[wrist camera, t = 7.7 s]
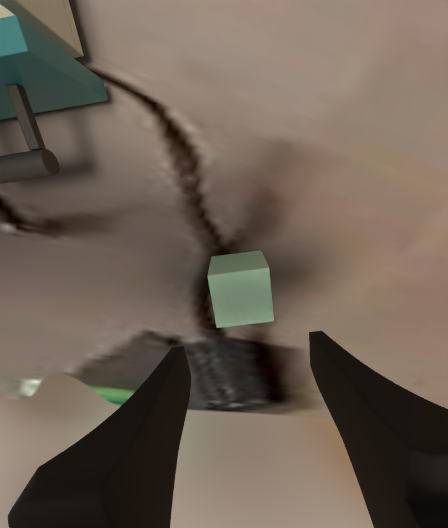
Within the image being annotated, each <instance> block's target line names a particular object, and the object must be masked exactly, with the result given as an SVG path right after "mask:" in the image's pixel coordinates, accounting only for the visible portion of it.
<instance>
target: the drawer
mask: <svg viewBox="0 0 448 528" xmlns="http://www.w3.org/2000/svg"><path fill="white" fill-rule="evenodd" d="M82 56H84V55H83V51H82V48H81V44H80V40H79V37H78V33H77V29H76V26H75V22H74V18H73V15H72V11H71V7H70V4H69V0H0V120H1V119H6V118H12V117H17V118H18V120H19V123H20V126H21V128H22V131H23V134H24V136H25V139H26V142H27V144H28V147H29V149H30V150H33V151H28V152H22V153H16V154H10V155H4V156H0V184H2V183H8V182H14V181H20V180H27V179H33V178H39V177H45V176H51V175H56V174H57V173H58V172H59V164H58V161H57V159H56V157H55V155H54V154H53V153H52V152H51V151H49V150H47V149H46V148H45V145H44V142H43V140H42V137H41V134H40V131H39V128H38V125H37V123H36V120H35V117H34V113H40V112H46V111H51V110H57V109H62V108H68V107H74V106H79V105H85V104H90V103H96V102H102V101H107V100H108V98H107V94H106V90H105V87H104V83H103V80H102V79H100V78H99V77H98V76H97V75H95V74H94V73H93V72H91V71H90V70H89V69H87V68H86V67H85V66H83V65H82V64H81V63H79V62H78V61H77V60H75V59H74V58H77V57H82Z"/></svg>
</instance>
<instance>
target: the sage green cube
mask: <svg viewBox="0 0 448 528" xmlns="http://www.w3.org/2000/svg"><path fill="white" fill-rule="evenodd" d="M207 277H208V282H209V288H210V293H211V299H212V304H213V310H214V315H215V321H216V327H217V328H220V327H229V326H238V325H246V324H255V323H264V322H273V321H274V315H273V304H272V293H271V282H270V271H269V266H268V264H267V262H266V260H265V257H264V255H263V253H262V250H257V251H250V252H242V253H235V254H227V255H220V256H212V257H211V261H210V266H209V271H208V276H207Z"/></svg>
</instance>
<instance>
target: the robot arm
mask: <svg viewBox="0 0 448 528" xmlns="http://www.w3.org/2000/svg"><path fill="white" fill-rule="evenodd" d="M309 340H310V366H311V369H312V372H313V375H314V378H315V380H316V383H317V386H318V388H319V390H320V392H321V394H322V397H323V399H324V401H325V403H326V405H327V407H328V409H329V411H330V413H331V415H332V418H333V420H334V422H335V424H336V426H337V428H338V430H339V432H340V435H341V437H342V439H343V442H344V444H345V447H346V450H347V452H348V455H349V458H350V460H351V463H352V466H353V468H354V471H355V474H356V477H357V480H358V482H359V485H360V488H361V491H362V493H363V496H364V500H365V503H366V505H367V508H368V511H369V514H370V517H371V520H372V523H373V526H374V528H448V409H446V408H444V407H441V406H439V405H437V404H435V403H432V402H430V401H428V400H426V399H424V398H422V397H420V396H418V395H416V394H414V393H412V392H410V391H408V390H406V389H404V388H402V387H401V386H399V385H397V384H395V383H393V382H392V381H390V380H388V379H387V378H385V377H383V376H382V375H380V374H378V373H377V372H375V371H374V370H372V369H371V368H369V367H368V366H366V365H365V364H363V363H362V362H360V361H359V360H358V359H356V358H355V357H354V356H352V355H351V354H350V353H348V352H347V351H346V350H345V349H343V348H342V347H341V346H340V345H338V344H337V343H336V342H335V341H333V340H332V339H331V338H330V337H329V336H327V335H326V334H325V333H324V332H322V331H316V332H309ZM190 388H191V374H190V370H189V365H188V361H187V357H186V353H185V349H184V346H180V347H172V348H171V350H170V351H169V352H168V353H167V355H166V356H165V357H164V359H163V360H162V361H161V362H160V364H159V365H158V366H157V367H156V369H155V370H154V371H153V372H152V374H151V375H150V376H149V377H148V378H147V380H146V381H145V382H144V383H143V384H142V385H141V386H140V387H139V389H138V390H137V391H136V392H135V393H134V394H133V395H132V396H131V397H130V398H129V399H128V400H127V401H126V402H125V403H124V404H123V405H122V406H121V407H120V408H119V409H118V410H116V411H115V412H114V413H113V414H112V415H111V416H109V417H108V418H107V419H106V420H105V421H104V422H102V423H101V424H100V425H99V426H98V427H96V428H95V429H94V430H93V431H91V432H90V433H89V434H87V435H86V436H85V437H83V438H82V439H80V440H79V441H78V442H77V443H75V444H74V445H72V446H71V447H69V448H68V449H67V450H65V451H63V452H62V453H60V454H58V455H57V456H55V457H54V458H52V459H51V460H49V461H48V462H46V463H45V464H43V465H41V466H40V467H39V468H38V469H37V471H36V472H35V474H34V475H33V477H32V478H31V480H30V481H29V483H28V484H27V486H26V487H25V489H24V491H23V492H22V494H21V495H20V497H19V498H18V500H17V501H16V503H15V504H14V506H13V507H12V509H11V511H10V513H9V515H8V524H9V528H170V520H171V508H172V499H173V490H174V481H175V473H176V465H177V456H178V450H179V444H180V440H181V435H182V431H183V426H184V421H185V417H186V412H187V407H188V402H189V397H190Z"/></svg>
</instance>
